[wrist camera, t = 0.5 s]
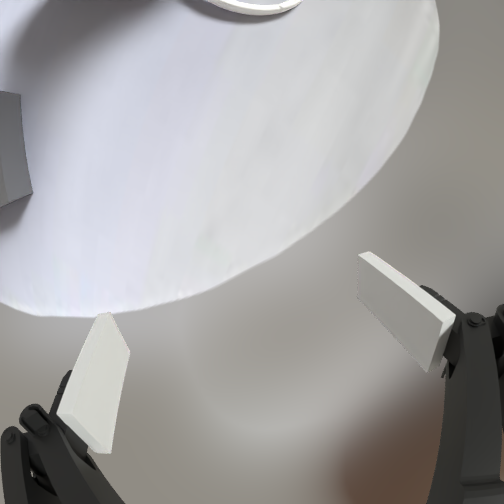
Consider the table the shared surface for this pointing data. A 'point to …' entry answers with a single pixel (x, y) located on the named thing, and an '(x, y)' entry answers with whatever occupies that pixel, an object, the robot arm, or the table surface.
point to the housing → (12, 151)
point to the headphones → (255, 7)
